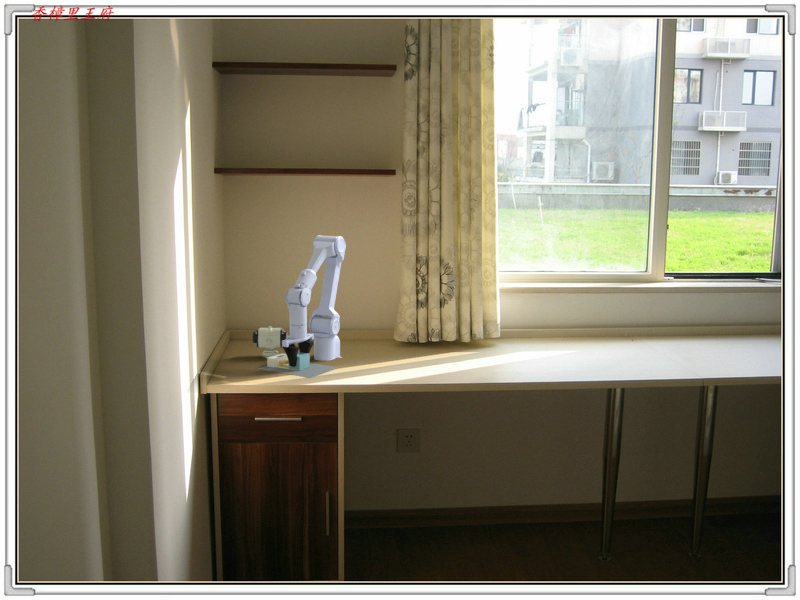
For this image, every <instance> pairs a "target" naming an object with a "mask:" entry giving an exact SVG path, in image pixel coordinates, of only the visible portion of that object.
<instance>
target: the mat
mask: <svg viewBox="0 0 800 600" xmlns="http://www.w3.org/2000/svg"><path fill="white" fill-rule="evenodd" d="M336 369H337V370H338V369H340V367H338V366H334V365H333V366H331V365H328V364H327V365H325V364H319V363H314V362H310V367H309V368H306V369H303V370H294V369H289V364H283V365H280V366H277V367H275V368H273V367H268V366H267V365H264V366H261V367H257V370H263V371H268V372H274V373H278V374H284V375H290V376H296V377H300V378H301V377H302V378H306V379H312V378H315V377H317V376H321V375H323V374H326V373H329V372H331V371H334V370H336Z"/></svg>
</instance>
